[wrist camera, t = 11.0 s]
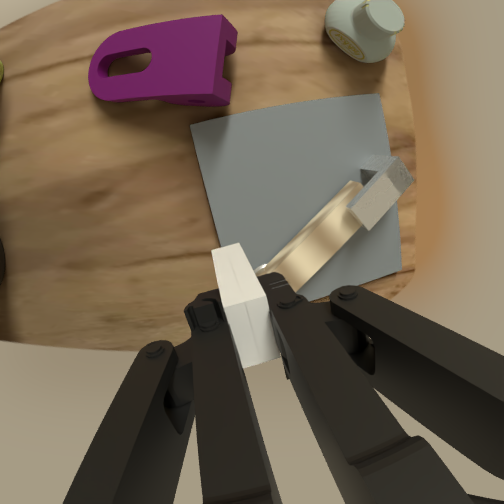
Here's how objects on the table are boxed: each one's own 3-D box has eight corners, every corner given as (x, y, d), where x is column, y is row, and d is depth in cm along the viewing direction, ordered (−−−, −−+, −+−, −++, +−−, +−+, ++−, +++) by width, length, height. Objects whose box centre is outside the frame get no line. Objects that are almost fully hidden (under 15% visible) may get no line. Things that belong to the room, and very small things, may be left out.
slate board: (240, 316, 48) (242, 321, 47) (189, 126, 39) (189, 125, 37) (396, 266, 51) (401, 269, 49) (373, 94, 41) (379, 93, 40)
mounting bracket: (122, 110, 42) (238, 107, 37) (84, 103, 34) (212, 93, 29) (130, 51, 39) (245, 40, 35) (94, 37, 31) (222, 14, 27)
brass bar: (268, 306, 46) (273, 316, 43) (243, 284, 44) (247, 293, 41) (369, 204, 44) (379, 208, 41) (349, 179, 42) (359, 181, 40)
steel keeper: (346, 220, 45) (368, 231, 39) (329, 200, 43) (350, 208, 37) (388, 175, 44) (414, 179, 38) (373, 154, 42) (398, 156, 36)
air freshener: (390, 43, 39) (428, 28, 30) (364, 74, 40) (403, 61, 31) (338, -4, 36) (369, -30, 26) (309, 25, 37) (337, -1, 27)
